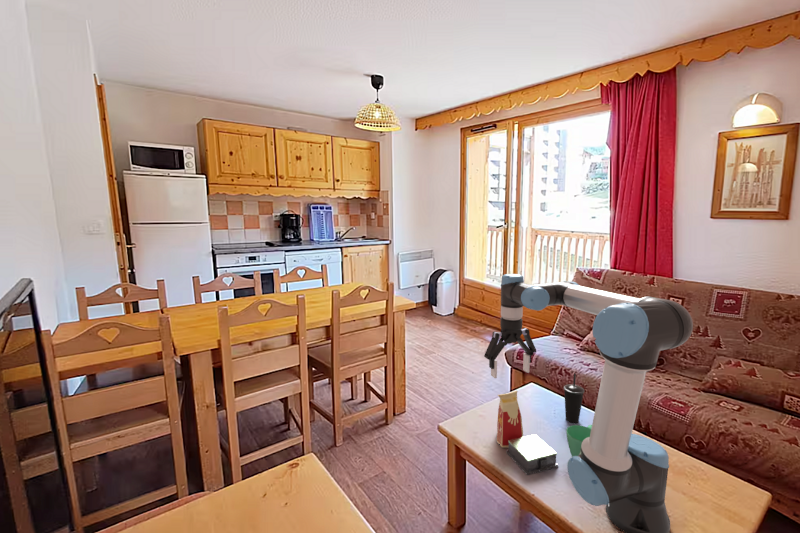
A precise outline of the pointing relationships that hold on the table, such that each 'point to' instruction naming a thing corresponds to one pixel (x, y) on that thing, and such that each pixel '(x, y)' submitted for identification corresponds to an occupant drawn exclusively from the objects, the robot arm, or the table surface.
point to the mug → (577, 437)
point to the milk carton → (508, 419)
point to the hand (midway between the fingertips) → (510, 374)
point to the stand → (532, 454)
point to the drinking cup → (573, 401)
